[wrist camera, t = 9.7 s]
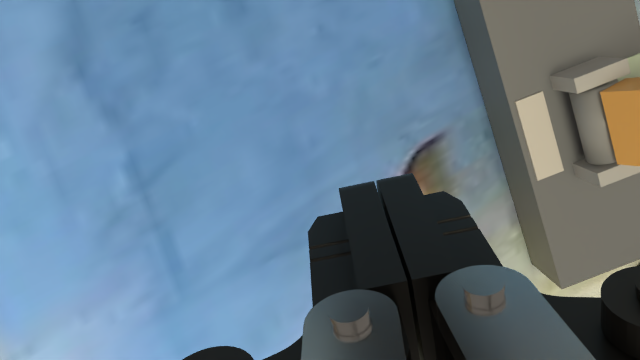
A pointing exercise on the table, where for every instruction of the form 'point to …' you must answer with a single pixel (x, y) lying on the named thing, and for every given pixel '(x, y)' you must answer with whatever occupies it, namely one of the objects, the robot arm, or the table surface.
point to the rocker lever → (609, 122)
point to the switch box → (558, 125)
